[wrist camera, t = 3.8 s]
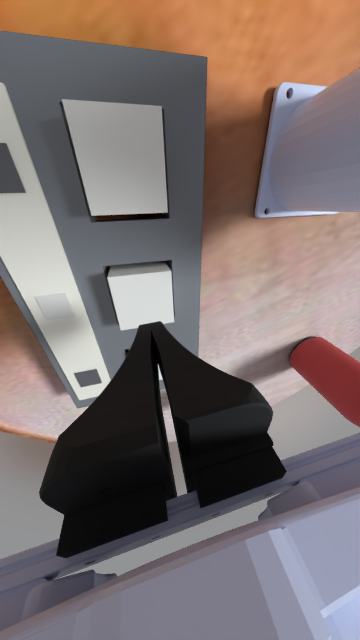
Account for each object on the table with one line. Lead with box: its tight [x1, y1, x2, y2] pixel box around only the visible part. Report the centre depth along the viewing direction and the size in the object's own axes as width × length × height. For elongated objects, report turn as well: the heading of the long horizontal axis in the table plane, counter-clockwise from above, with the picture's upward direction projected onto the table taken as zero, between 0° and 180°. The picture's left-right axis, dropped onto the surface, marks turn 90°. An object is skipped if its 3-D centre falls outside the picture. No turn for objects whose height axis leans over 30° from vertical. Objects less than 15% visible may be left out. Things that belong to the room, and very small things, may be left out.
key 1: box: [62, 99, 168, 216], centre depth 11 cm, size 4×4×3 cm
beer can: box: [290, 337, 360, 427], centre depth 25 cm, size 7×7×12 cm
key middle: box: [107, 261, 174, 331], centre depth 15 cm, size 4×4×3 cm
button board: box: [0, 31, 207, 408], centre depth 16 cm, size 14×25×3 cm, turn 2°
